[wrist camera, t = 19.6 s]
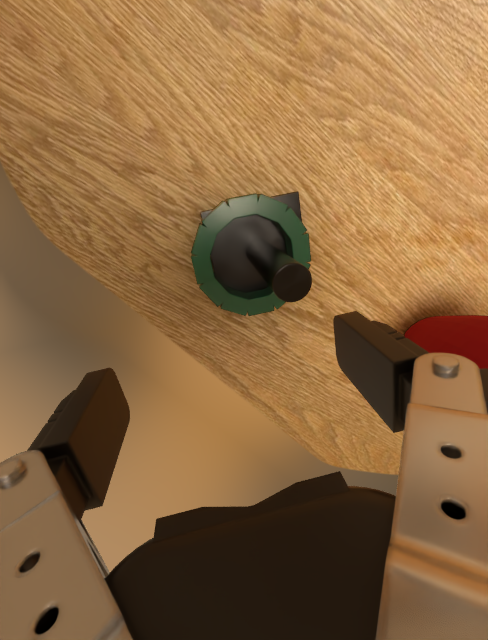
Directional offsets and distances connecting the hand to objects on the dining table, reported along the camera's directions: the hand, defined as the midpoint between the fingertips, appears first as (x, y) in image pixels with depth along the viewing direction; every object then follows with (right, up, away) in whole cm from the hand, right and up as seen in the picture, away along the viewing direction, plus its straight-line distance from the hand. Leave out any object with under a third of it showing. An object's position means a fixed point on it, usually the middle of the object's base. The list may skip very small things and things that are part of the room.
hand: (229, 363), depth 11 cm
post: (+2, +9, +19) cm, 21 cm away
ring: (+1, +8, +18) cm, 20 cm away
